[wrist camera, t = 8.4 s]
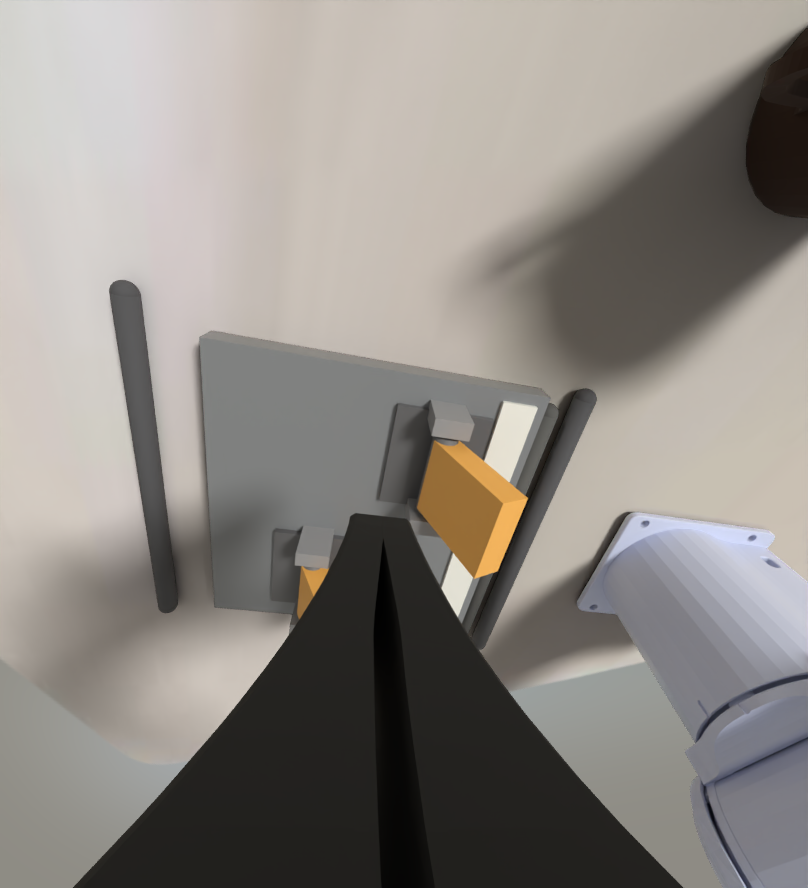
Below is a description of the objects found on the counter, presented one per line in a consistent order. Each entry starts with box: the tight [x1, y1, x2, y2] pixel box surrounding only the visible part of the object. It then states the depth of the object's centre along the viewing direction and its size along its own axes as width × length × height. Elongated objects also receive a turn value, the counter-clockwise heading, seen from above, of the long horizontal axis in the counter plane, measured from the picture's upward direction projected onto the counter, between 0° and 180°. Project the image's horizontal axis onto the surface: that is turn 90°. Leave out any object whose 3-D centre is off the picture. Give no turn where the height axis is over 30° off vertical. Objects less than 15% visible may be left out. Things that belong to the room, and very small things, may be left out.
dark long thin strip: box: [462, 403, 559, 633], centre depth 22 cm, size 1×17×1 cm, turn 169°
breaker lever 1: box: [297, 566, 329, 619], centre depth 19 cm, size 1×4×5 cm, turn 169°
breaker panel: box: [199, 331, 551, 634], centre depth 20 cm, size 15×16×3 cm
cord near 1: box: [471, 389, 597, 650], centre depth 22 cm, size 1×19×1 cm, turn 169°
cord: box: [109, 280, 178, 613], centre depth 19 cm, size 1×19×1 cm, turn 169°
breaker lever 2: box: [415, 436, 528, 579], centre depth 16 cm, size 1×4×5 cm, turn 169°
